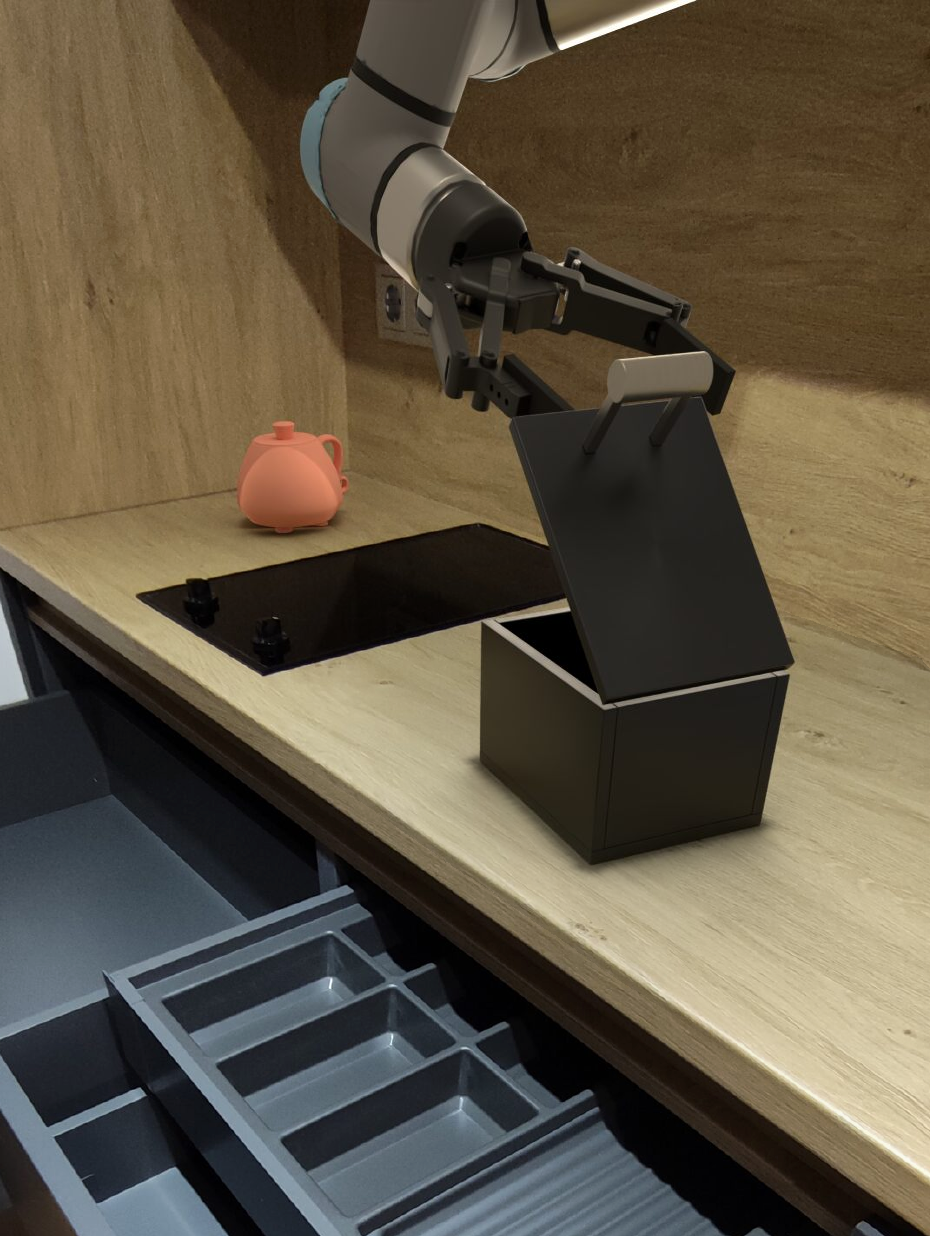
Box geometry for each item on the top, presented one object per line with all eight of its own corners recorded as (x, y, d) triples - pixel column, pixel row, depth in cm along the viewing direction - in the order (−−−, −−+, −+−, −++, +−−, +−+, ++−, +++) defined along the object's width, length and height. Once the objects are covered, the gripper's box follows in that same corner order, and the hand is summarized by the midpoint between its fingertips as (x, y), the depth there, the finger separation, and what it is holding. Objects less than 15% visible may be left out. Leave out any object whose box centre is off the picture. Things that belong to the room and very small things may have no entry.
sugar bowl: (223, 519, 132) (210, 420, 125) (325, 501, 138) (318, 405, 131) (270, 543, 124) (259, 438, 118) (376, 522, 130) (371, 421, 123)
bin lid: (507, 426, 64) (547, 329, 58) (695, 405, 68) (753, 312, 61) (601, 705, 63) (654, 639, 57) (788, 669, 67) (857, 603, 60)
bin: (479, 760, 81) (480, 620, 75) (630, 730, 85) (645, 593, 78) (590, 865, 70) (603, 710, 63) (760, 824, 73) (790, 673, 67)
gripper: (576, 278, 85) (760, 433, 78) (299, 332, 75) (481, 515, 68) (605, 158, 78) (808, 316, 72) (305, 201, 69) (507, 388, 62)
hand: (649, 414), depth 70 cm, fingers open, 13 cm apart
